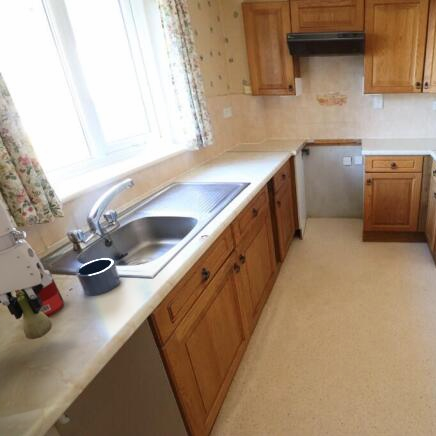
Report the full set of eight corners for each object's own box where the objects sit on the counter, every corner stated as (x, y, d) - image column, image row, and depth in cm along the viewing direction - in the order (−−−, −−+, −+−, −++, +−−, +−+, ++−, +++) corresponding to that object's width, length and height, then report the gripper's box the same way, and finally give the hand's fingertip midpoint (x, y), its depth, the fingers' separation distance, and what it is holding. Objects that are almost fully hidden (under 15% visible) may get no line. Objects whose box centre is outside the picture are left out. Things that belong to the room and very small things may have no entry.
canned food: (71, 301, 94) (56, 270, 89) (45, 320, 87) (27, 287, 82) (49, 299, 95) (33, 268, 91) (22, 318, 88) (3, 285, 84)
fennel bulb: (36, 326, 78) (17, 285, 74) (59, 323, 79) (41, 283, 75) (21, 344, 73) (-1, 301, 68) (46, 340, 74) (26, 298, 69)
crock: (82, 299, 95) (73, 279, 92) (86, 282, 102) (78, 264, 99) (119, 288, 99) (112, 269, 96) (121, 273, 106) (114, 255, 103)
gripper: (46, 226, 72) (74, 293, 80) (-53, 244, 66) (-12, 314, 73) (38, 240, 66) (69, 310, 74) (-72, 261, 60) (-25, 336, 67)
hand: (29, 312), depth 74 cm, fingers closed on fennel bulb, 2 cm apart
